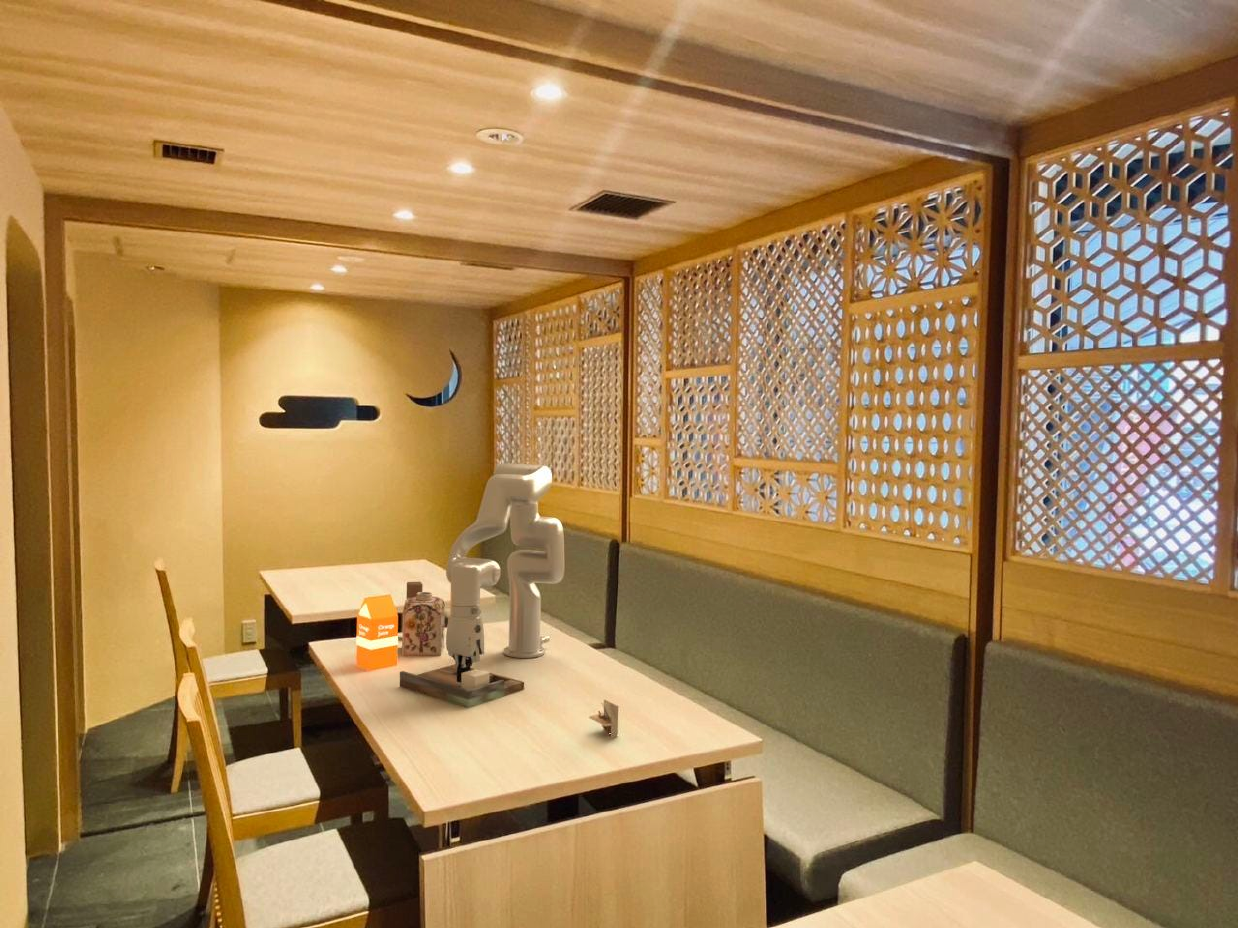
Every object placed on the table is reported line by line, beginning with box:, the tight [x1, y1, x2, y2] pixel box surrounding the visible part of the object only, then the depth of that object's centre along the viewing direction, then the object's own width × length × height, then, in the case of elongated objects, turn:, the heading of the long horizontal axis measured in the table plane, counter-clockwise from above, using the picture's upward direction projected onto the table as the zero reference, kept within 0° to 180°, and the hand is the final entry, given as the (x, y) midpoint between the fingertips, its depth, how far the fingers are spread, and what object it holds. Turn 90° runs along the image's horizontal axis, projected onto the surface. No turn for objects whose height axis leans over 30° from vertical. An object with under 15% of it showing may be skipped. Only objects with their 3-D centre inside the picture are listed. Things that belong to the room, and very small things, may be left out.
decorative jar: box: [401, 591, 445, 657], centre depth 268 cm, size 12×12×18 cm
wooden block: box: [406, 581, 424, 600], centre depth 285 cm, size 9×4×18 cm, turn 111°
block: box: [461, 668, 491, 690], centre depth 224 cm, size 5×5×4 cm
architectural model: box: [588, 699, 619, 738], centre depth 201 cm, size 3×7×7 cm, turn 35°
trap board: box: [399, 663, 525, 709], centre depth 233 cm, size 20×26×4 cm
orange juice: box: [355, 594, 399, 672], centre depth 252 cm, size 8×9×20 cm
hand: (463, 681), depth 228 cm, fingers closed
